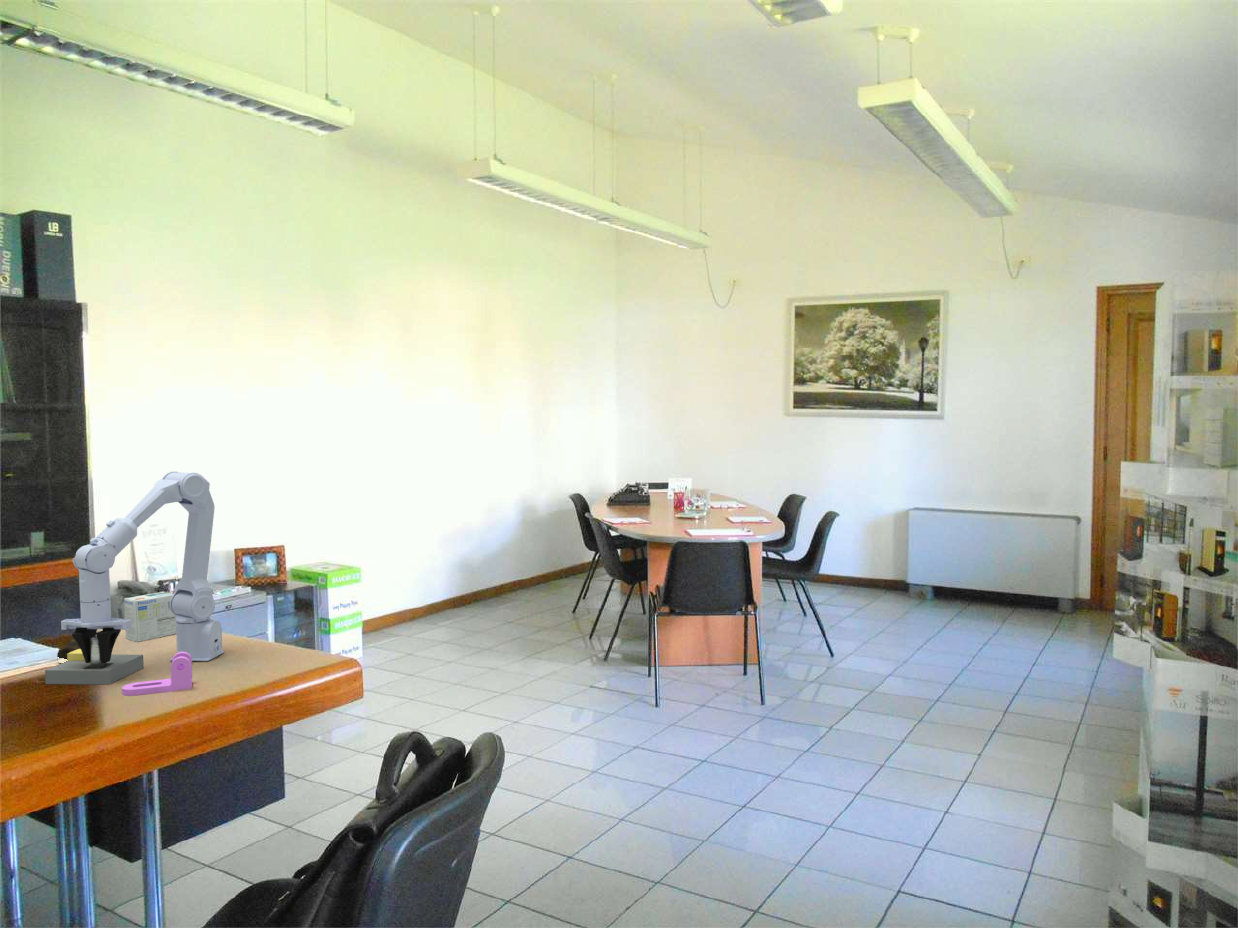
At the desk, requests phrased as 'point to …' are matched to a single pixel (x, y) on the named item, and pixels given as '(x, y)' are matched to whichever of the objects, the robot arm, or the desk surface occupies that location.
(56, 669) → the plate
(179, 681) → the bracket
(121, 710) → the desk surface
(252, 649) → the desk surface
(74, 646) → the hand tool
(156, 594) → the light bulb box
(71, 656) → the latch flap
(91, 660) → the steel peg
